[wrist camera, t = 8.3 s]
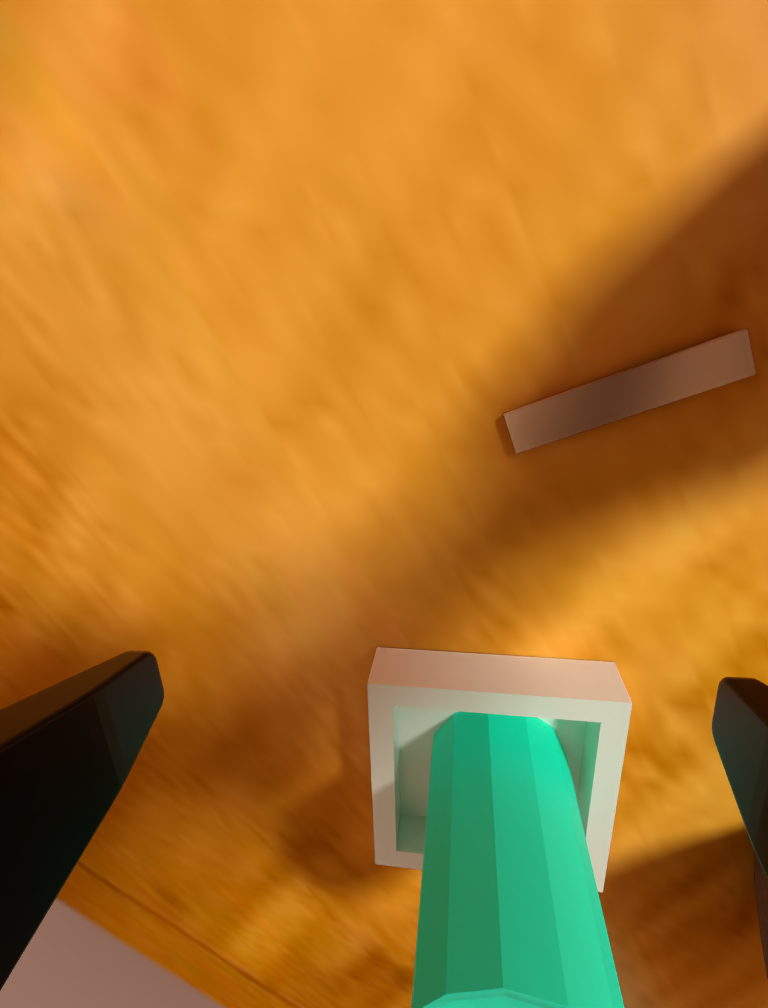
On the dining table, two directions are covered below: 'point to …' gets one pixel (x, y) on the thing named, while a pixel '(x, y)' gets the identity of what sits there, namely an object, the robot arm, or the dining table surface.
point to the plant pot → (762, 906)
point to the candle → (507, 875)
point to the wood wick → (632, 391)
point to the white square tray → (493, 690)
